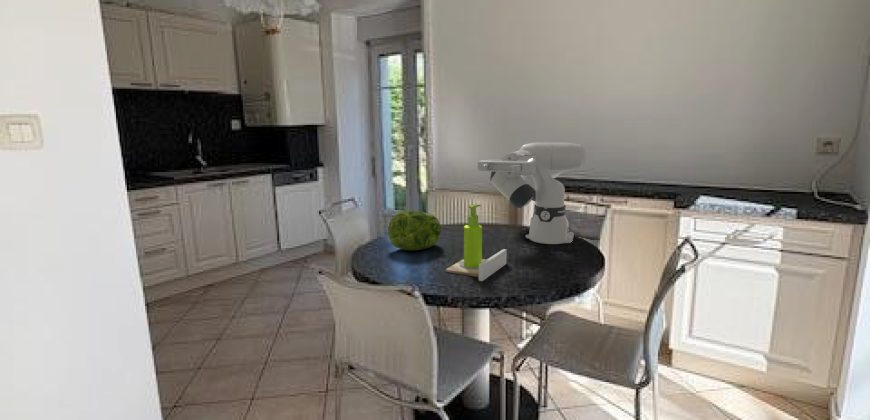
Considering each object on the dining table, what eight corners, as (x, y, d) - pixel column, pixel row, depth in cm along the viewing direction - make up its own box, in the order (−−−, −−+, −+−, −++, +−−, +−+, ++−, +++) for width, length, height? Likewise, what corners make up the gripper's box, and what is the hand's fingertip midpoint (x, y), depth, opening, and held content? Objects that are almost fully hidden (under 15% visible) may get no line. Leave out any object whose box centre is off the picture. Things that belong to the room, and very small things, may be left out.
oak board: (467, 259, 166) (467, 256, 165) (499, 263, 160) (499, 261, 160) (445, 271, 152) (445, 269, 152) (479, 277, 146) (479, 274, 146)
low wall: (502, 263, 160) (503, 249, 159) (506, 263, 160) (506, 249, 159) (478, 280, 143) (478, 264, 142) (482, 281, 142) (482, 265, 142)
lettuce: (450, 255, 180) (453, 215, 183) (413, 248, 164) (417, 205, 167) (418, 254, 190) (422, 216, 193) (381, 248, 175) (385, 207, 177)
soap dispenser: (485, 263, 157) (486, 204, 153) (477, 269, 151) (477, 207, 148) (470, 261, 160) (470, 202, 156) (460, 266, 154) (460, 206, 150)
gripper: (486, 155, 175) (469, 158, 163) (540, 156, 165) (527, 159, 153) (486, 172, 176) (470, 176, 164) (539, 174, 166) (526, 179, 154)
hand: (498, 168), depth 159 cm, fingers open, 8 cm apart
